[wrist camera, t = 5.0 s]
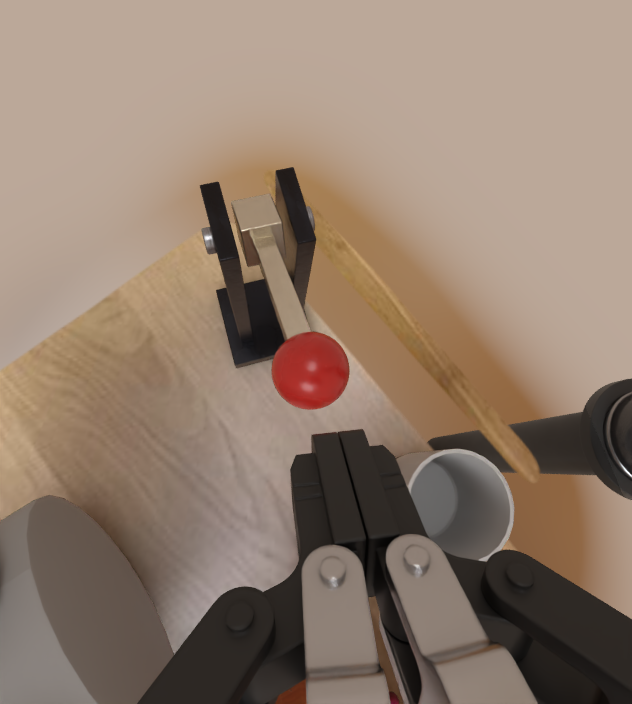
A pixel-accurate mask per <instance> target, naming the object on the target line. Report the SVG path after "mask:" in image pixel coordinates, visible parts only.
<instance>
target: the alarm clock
mask: <svg viewBox="0 0 632 704" xmlns="http://www.w3.org/2000/svg"><path fill="white" fill-rule="evenodd" d="M173 656H174V654H173V651H172V648H171V645H170V642H169V640H168V637H167V634H166V631H165V629H164V627H163V624H162V622H161V620H160V618H159V615H158V613H157V611H156V609H155V607H154V605H153V603H152V601H151V599H150V597H149V595H148V593H147V591H146V590H145V588H144V586H143V584H142V582H141V580H140V579H139V577H138V576H137V574H136V573H135V571H134V569H133V568H132V566H131V565H130V563H129V562H128V560H127V559H126V557H125V556H124V555H123V553H122V552H121V551H120V549H119V548H118V547H117V545H116V544H115V543H114V541H113V540H112V539H111V538H110V536H109V535H108V534H107V533H106V532H105V531H104V530H103V529H102V528H101V527H100V525H99V524H98V523H97V522H96V521H95V520H93V519H92V518H91V517H90V516H89V515H88V514H86V513H85V512H84V511H83V510H82V509H81V508H79V507H78V506H76V505H74V504H73V503H71V502H69V501H67V500H66V499H64V498H60V497H55V496H51V495H48V496H44V497H42V498H39V499H36V500H33V501H32V502H30V503H29V504H27V505H25V506H24V507H22V508H20V509H19V510H17V511H16V512H14V513H12V514H11V515H9V516H8V517H6V518H4V519H3V520H1V521H0V704H137V703H138V702H139V700H140V699H141V698H142V696H143V695H144V694H145V692H146V691H147V690H148V688H149V687H150V686H151V685H152V683H153V682H154V681H155V679H156V678H157V677H158V675H159V674H160V673H161V672H162V670H163V669H164V668H165V666H166V665H167V664H168V662H169V661H170V660H171V659H172V657H173Z"/></svg>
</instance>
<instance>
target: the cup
mask: <svg viewBox="0 0 632 704" xmlns="http://www.w3.org/2000/svg"><path fill="white" fill-rule="evenodd" d="M396 460H397V463H398V465H399V468H400V470H401V474H402V475H403V477H404V480H405V482H406V486H407V487H408V490H409V492H410V494H411V497H412V499H413V502H414V504H415V506H416V509H417V511H418V514H419V516H420V519H421V521H422V523H423V526H424V528H425V531H426V533H427V535H428V536H429V538H430V539H431V540H432V541H433V542H435V543H436V544H437V545H438V546H439V547H440V548H441V549H442V550H443V551H445V552H447V553H449V554H451V555H454V556H457V557H462V558H467V559H473V560H479V561H488V559H489V557H490V556H491V555H493V554H494V553H496V552H498V551H500V550H501V549H502V548H503V546H504V544H505V543H506V541H507V540H508V538H509V536H510V532H511V529H512V526H513V522H514V521H513V520H514V504H513V499H512V494H511V491H510V489H509V487H508V484H507V482H506V480H505V478H504V477H503V475H502V474H501V473H500V471H499V470H498V469H497V467H496V466H495V465H493V464H492V463H491V462H490V461H489V460H487V459H486V458H485V457H483V456H481V455H479V454H477V453H474V452H472V451H468V450H462V449H449V450H438V451H427V452H416V453H408V454H406V455H403V456H401V457H398V458H397V459H396Z"/></svg>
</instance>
